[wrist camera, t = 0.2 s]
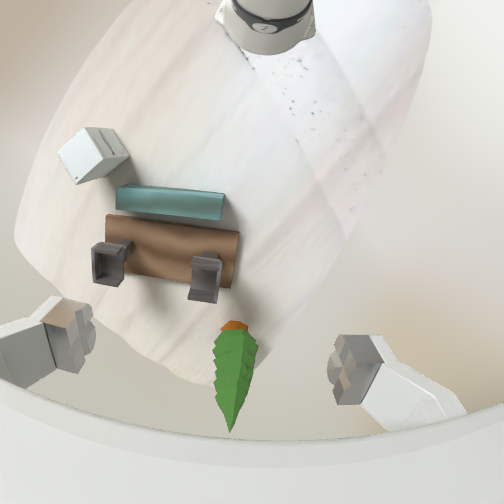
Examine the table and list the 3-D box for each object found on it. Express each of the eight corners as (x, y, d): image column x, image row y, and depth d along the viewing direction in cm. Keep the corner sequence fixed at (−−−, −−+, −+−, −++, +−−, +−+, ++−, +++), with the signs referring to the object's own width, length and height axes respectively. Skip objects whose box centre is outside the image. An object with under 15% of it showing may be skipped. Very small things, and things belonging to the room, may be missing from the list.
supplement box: (131, 156, 54) (104, 160, 42) (104, 177, 55) (74, 186, 43) (113, 127, 51) (83, 125, 40) (87, 149, 52) (55, 153, 41)
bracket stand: (108, 214, 57) (79, 231, 45) (239, 231, 60) (238, 255, 48) (108, 266, 62) (83, 292, 49) (230, 285, 64) (228, 318, 52)
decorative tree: (231, 307, 66) (227, 413, 38) (265, 327, 68) (278, 432, 40) (208, 336, 69) (194, 440, 40) (241, 353, 71) (242, 456, 43)
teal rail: (127, 183, 56) (116, 188, 50) (224, 193, 57) (222, 198, 52) (126, 203, 57) (115, 209, 52) (221, 213, 59) (219, 220, 53)
